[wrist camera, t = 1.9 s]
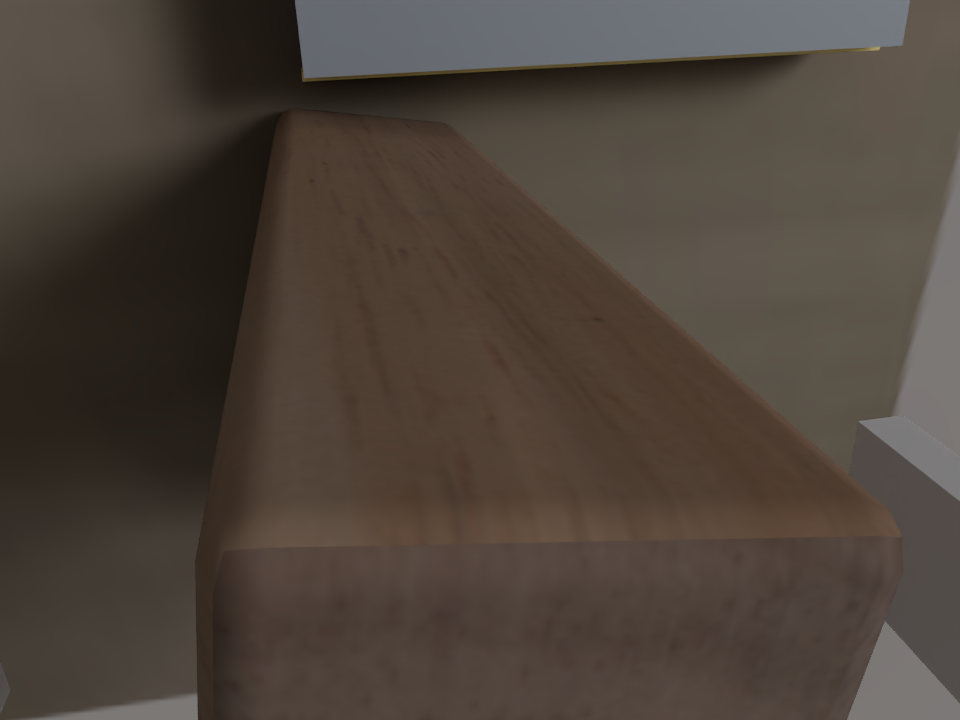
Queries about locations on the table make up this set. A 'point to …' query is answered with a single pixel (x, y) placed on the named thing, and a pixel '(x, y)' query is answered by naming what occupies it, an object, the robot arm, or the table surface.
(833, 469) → the wooden block
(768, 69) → the table surface
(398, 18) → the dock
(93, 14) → the table surface
